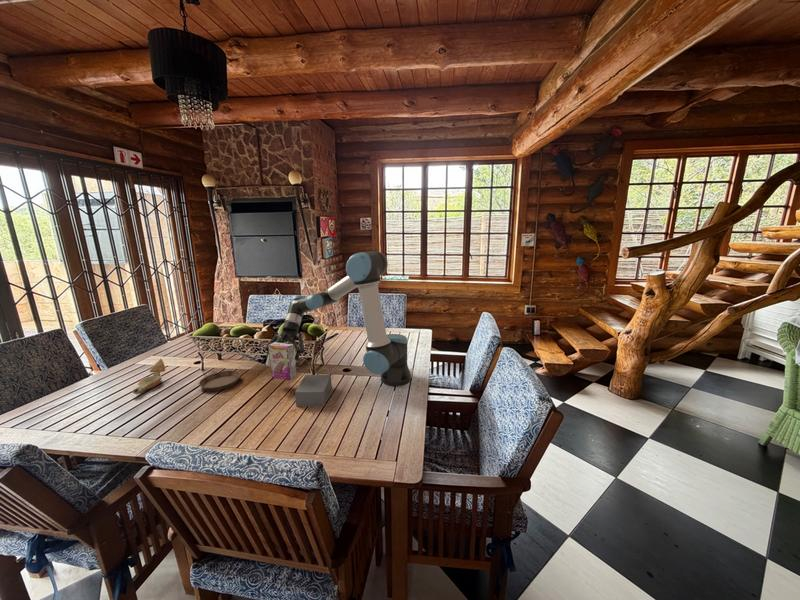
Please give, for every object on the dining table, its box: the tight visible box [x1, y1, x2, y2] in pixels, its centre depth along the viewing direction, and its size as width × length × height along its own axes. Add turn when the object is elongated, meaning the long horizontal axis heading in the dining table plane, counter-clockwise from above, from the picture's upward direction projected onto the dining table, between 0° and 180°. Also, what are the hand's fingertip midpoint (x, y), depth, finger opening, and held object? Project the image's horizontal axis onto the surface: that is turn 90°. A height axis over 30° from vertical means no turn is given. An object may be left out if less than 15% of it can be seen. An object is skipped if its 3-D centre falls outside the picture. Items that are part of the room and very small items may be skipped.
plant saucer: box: [198, 370, 241, 392], centre depth 156 cm, size 18×18×3 cm
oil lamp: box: [131, 358, 166, 395], centre depth 152 cm, size 9×21×10 cm, turn 6°
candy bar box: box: [267, 341, 298, 381], centre depth 149 cm, size 11×5×16 cm, turn 70°
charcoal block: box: [294, 374, 332, 407], centre depth 143 cm, size 12×16×7 cm
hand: (280, 365), depth 147 cm, fingers closed on candy bar box, 12 cm apart
